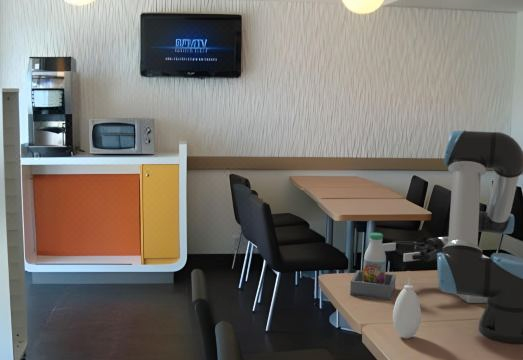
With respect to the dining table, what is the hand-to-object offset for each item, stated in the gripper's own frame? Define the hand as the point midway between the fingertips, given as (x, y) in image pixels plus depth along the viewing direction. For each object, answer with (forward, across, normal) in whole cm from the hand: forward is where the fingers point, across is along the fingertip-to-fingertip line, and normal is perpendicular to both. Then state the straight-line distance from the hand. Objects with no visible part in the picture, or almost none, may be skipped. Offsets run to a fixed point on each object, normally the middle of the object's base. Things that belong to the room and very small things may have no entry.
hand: (391, 252), depth 211 cm
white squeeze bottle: (+22, -37, -14) cm, 45 cm away
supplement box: (-22, -19, -14) cm, 32 cm away
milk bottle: (+7, 0, -13) cm, 15 cm away
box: (+7, 0, -14) cm, 15 cm away
